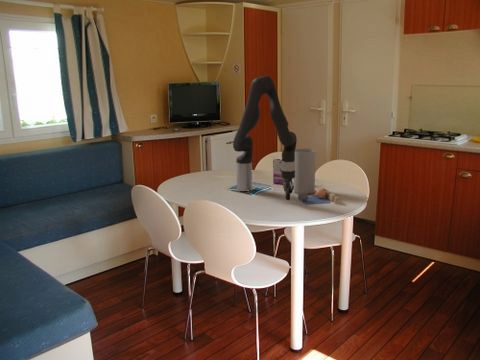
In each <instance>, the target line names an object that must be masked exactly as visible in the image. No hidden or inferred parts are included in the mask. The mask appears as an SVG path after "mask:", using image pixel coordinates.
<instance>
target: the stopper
mask: <svg viewBox="0 0 480 360" xmlns="http://www.w3.org/2000/svg"><path fill="white" fill-rule="evenodd" d="M322 189H323V190H324V191H325V193H326V195H325V197H324V198H325V199H326V200H328V201H329V202H330V203H331V202H332V203H333V204H334V205H339V204H340V197H339V196H338V195H335V194H334V193H332V192H331V191H329V190H327V188H322Z"/></svg>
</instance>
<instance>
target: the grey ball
mask: <svg viewBox="0 0 480 360" xmlns="http://www.w3.org/2000/svg"><path fill="white" fill-rule="evenodd" d="M308 197H309V194H307V193H306V192H304V191H302V192H300V193H299V194H298V195H297V199H298V201H300V202H302V203H303V202H304V201H306V200H307V199H308Z"/></svg>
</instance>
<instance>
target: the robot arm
mask: <svg viewBox="0 0 480 360" xmlns="http://www.w3.org/2000/svg"><path fill="white" fill-rule="evenodd" d="M265 94H266V95H267V97H268V99H269V106H270V109H269V113H270V118H271V120H272V123H273V125H274V127H275V130H276V133H277V136H278V139H279V142H280V144H281V145H282V146H283V150H282V152H281V158H282V163H281V177H282V178H283V179H284V181H283V182H282V183H283V184H282V187H283V191H284V194H285V200H286V201H291V194H293V192H294V191H293V189H294V186H293V178H295V149H297V140H298V139H297V135H296V133H295V132H293V131H290V130H289V122H288V119H287V117H286V116H285V113H284V110H283V108H282V106H281V103H280V99H279V96H278V92H277V89H276V85H275V83H274V81H273V78H272V77H271V76H269V75H267V74H265V75H262V76H260V77H259V76H258V77H256V78H254V79H253V80H252V82H251V84H250V89H249V93H248V98H247V101H246V104H245V105H246V106H245V108H244V111H243V113H242V116H241V120H240V123H239V125H238V129H237V132H236V134H235V136H234V138H233V142H232V146H233V147H232V148H233V150H234V151H235V152H239V153H241V152H243V153H242V154H241V155H239V156H238V157H236V160H235V161H236V162H235V164H236V165H235V166H236V191H237V190H238V191H237V192H240V191H247V190H251V189H252V190H253V166H252V165H253V164H252V163H253V161H252V160H253V151H254V150H253V149H254V148H253V146H254V141H253V138H252V136H251V135H248V134H249V133H250V132H251V131H252V130H253V129H254V128H255V127H256V126H257V125H258V123H259V121H260V117H261V108H260V106H259V105H260V101H261V98H262V96H264V95H265ZM252 190H251V191H252Z"/></svg>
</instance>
